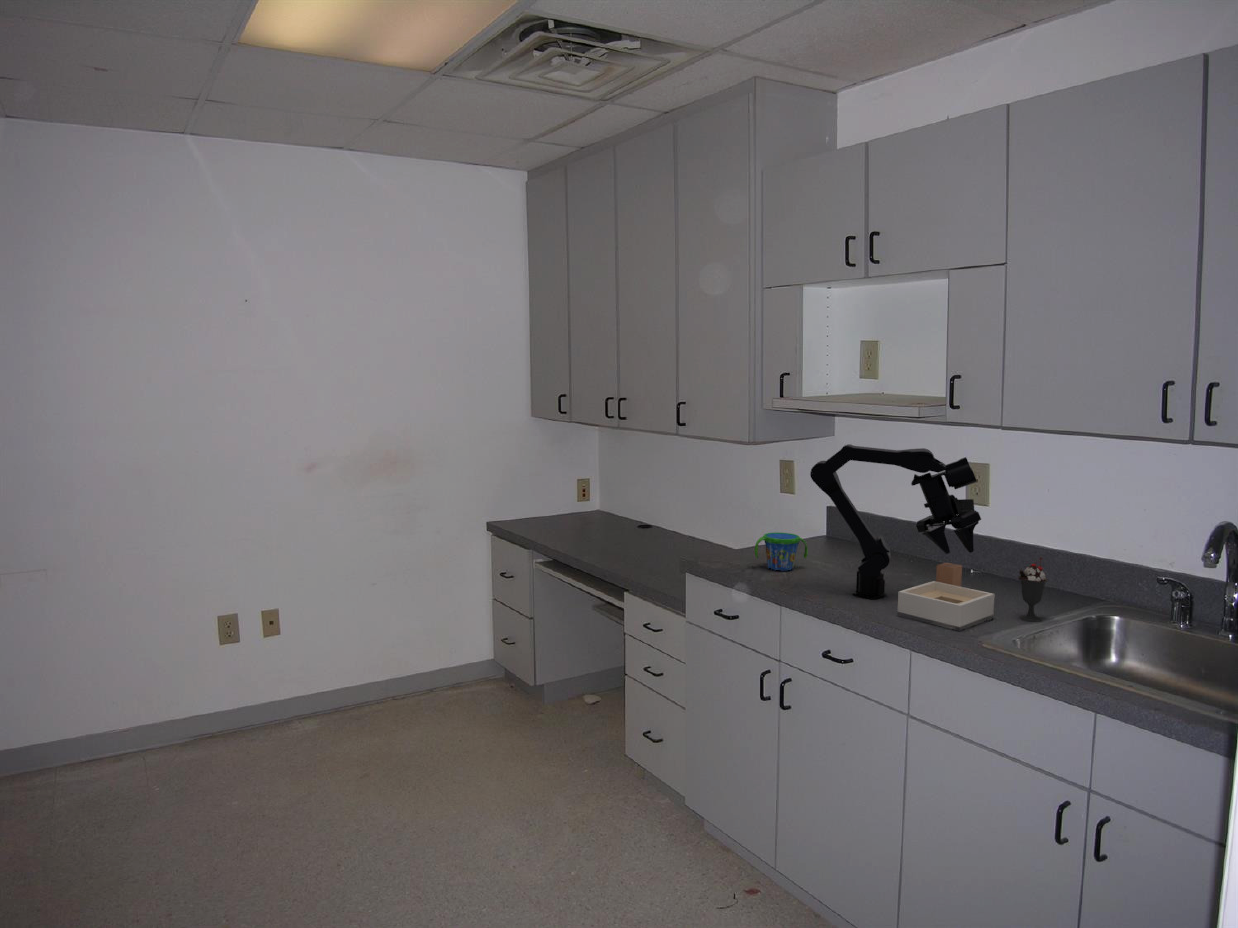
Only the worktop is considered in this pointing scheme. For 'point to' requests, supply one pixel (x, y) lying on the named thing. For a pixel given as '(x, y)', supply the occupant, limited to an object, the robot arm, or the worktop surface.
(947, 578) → the peg
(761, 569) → the worktop surface
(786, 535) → the snack cup
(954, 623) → the socket box
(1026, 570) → the sundae
